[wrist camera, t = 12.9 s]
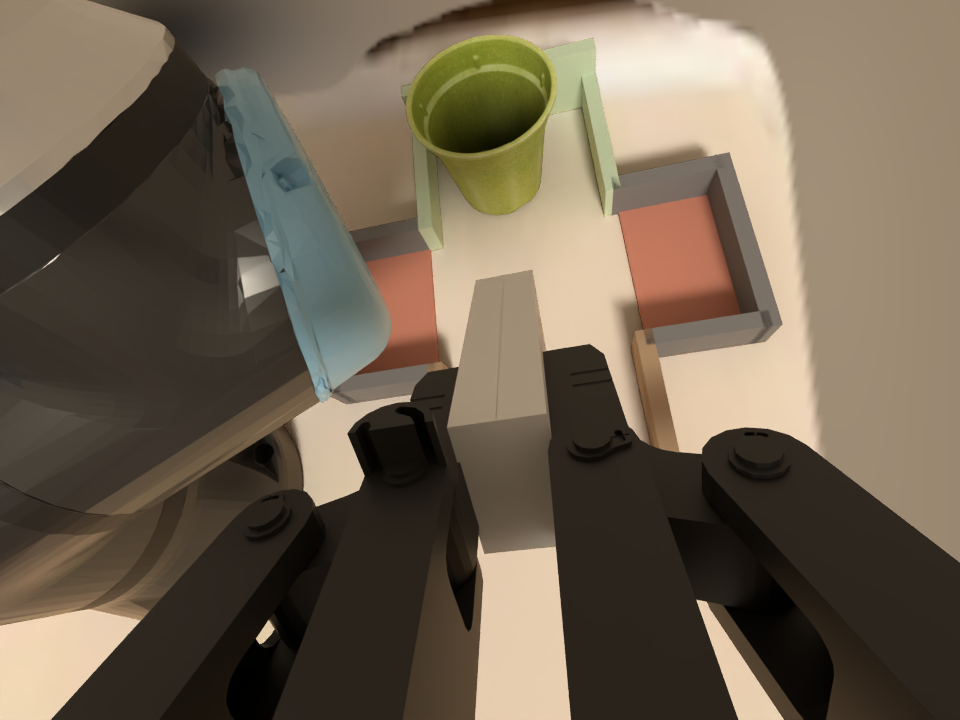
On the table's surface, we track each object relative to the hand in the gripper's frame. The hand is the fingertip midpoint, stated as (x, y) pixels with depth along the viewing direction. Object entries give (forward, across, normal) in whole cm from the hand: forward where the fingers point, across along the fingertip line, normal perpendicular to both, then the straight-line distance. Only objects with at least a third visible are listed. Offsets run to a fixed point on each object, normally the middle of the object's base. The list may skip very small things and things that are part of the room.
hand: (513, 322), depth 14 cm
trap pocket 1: (+21, +10, -7) cm, 24 cm away
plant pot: (+28, -1, -1) cm, 28 cm away
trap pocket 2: (+21, -10, -7) cm, 25 cm away
